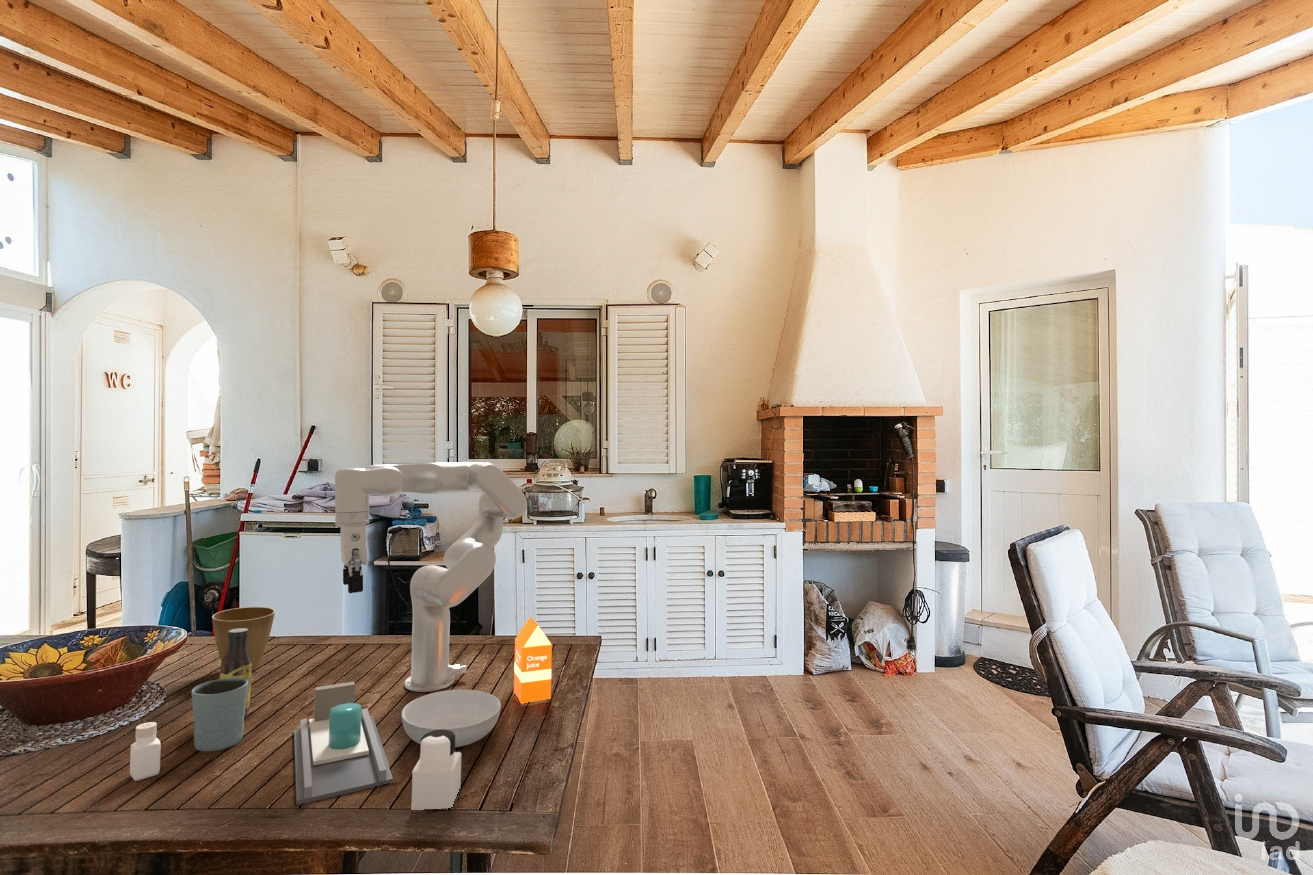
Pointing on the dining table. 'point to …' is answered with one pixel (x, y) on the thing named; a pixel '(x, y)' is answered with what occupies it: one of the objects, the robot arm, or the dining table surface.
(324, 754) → the sliding tray
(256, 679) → the dining table surface
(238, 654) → the sauce bottle
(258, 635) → the plant pot
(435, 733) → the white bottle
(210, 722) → the grey-blue cup
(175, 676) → the dining table surface
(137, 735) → the pepper shaker
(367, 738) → the rail base
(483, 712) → the serving bowl
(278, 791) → the dining table surface
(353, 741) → the canister
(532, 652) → the orange juice
